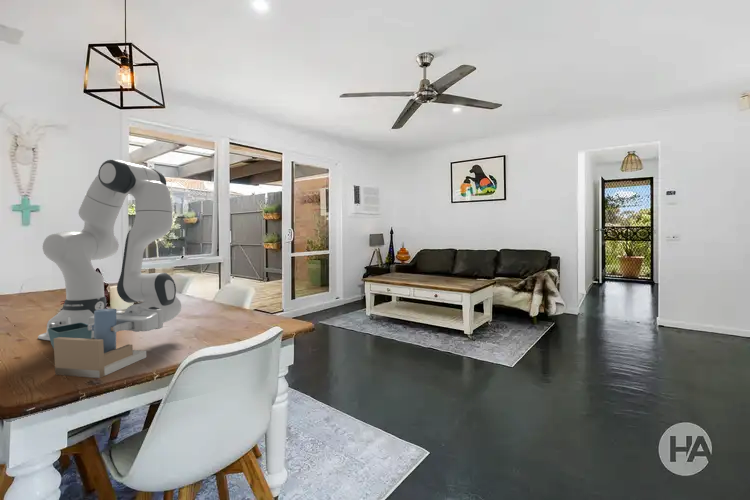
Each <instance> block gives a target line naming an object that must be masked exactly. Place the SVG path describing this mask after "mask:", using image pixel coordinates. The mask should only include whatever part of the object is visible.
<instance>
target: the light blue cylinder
mask: <svg viewBox="0 0 750 500" xmlns="http://www.w3.org/2000/svg"><path fill="white" fill-rule="evenodd" d="M116 313H117V309H116V308H105V309H100V310H95V311H94V338H93V339H102V340H103V347H104V353H107V352H109V351H112V350H115V349H117V332H111V328H110V327H111V326H113V325H116Z"/></svg>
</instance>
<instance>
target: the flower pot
mask: <svg viewBox="0 0 750 500" xmlns="http://www.w3.org/2000/svg"><path fill="white" fill-rule="evenodd" d="M48 332H49V337H50V340H49V341H50V344H51V347H52V349H54V338H58V337H67V338H85V339H92V338H91V335H92V331H88V325H87V324H85V323H75V324H69V325H64V326H59V327H53V328H48Z"/></svg>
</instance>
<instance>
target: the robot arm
mask: <svg viewBox="0 0 750 500" xmlns="http://www.w3.org/2000/svg"><path fill="white" fill-rule="evenodd" d="M129 195H130V196H132V197H133V198H134V201H135V216H134V222H133V224H132V227H131V229H130V230H129V231H128V233H127V235H126V237H125V243H124V251H123V257H122V262H121V263H122V264H121V265H122V266H121V271H120V276H119V279H118V282H117V285H116V291H117V294H118V296H119V298H120V299H121V300H122V301H124V302H126V303H128V304H131V303H132V304H131V305H129V306H128V307H127V308H126V309H125V311H124V312H116V325H113V326H111V327H110V328H111V332H116V333H118V332H121V331H127V332H128V331H131V332H135V333H137V332H149V331H153V330H160V329H163V327H164V324H165V323H167V322H169V321H171V320H173V319H175V318H176V317H177V316H179V315H180V312H181V310H182V302H181V300H180V299H179V297H177V295H176V292H177V288H176V283H175V280H174V279H173V277H172V276H171V275H170V274H168V273H166V272H150V273H142V267H143V258H144V253H145V250H146V248H147V247H148V246H149V245H151V243H153V242H154V241H157V240H159V239H161V238H163V237H164V236H166V235H167V234H168V233H169V232H170V231H171V229H172V226H173V205H172V198H171V192H170V189H169V187H168V186H167V179H166V177H165V176H164V174H163V173H161V172H160V171H158V170H156V169H154V168H150V167H147V166H145V165H142V164H139V163H132V162H127V161H124V160H120V159H107V160H106V161H104V162H103V163H102V164H101V165H100V167H99V168H98V174H97V175H96V176H95V178H94V179H93V181H92V182H91V184H90V186H89V187H88V189H87V191H86V193H85V196H84V198H83V200H82V202H81V204H80V207H79V209H78V217H80V219H81V220H82V221H83V222H84V224H83V229H82V230H80V231H79V230H78V231H77V230H76V231H65V230H64V231H61V232H56V233H52V234H49V235H48V236H46V238H44V240H43V243H42V251H43V254H44V255H45V257H46V258H47V259H49V260H50V261H52V262H53V263H54V264H56V266H58V268H59V269H60V271H61V273H62V275H63V280H64V284H65V296H66V298H65V299H64V300H61V301H60V305H63V306H62V307H61V308H62V310H60V311H59V312H58V313H56V315H54V316H53V317H51V318H50V319H49V320H48V321H47V324H46V331H45V332H44V333H40V334H38V336H37V339H39V340H44V341H50V337H49V332H48V328H53V327H59V326H64V325H69V324H75V323H85V324H87V325H88V331H92V335H91V339H94V311H95V310H100V309H106V306H107V297H106V296H105V283H104V280H105V279H104V275H103V274H102V273H100V272H98V271H96V269H95V267H93V265H92V261H97V260H104V259H106V258H109V257H112V256H114V255H116V253H117V252H118V250H119V247H120V246H119V241H118V239H117V237H116V236H115V233H114V232H115V231H114V228H115V224H116V221H117V218H118V217H119V216H118V215H119V213H120V211H121V208H122V207H123V205H124V202H125V199H126V198H127V196H129ZM133 303H135V304H133Z"/></svg>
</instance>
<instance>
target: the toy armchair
mask: <svg viewBox="0 0 750 500" xmlns="http://www.w3.org/2000/svg"><path fill="white" fill-rule="evenodd" d="M53 355H54V374H55V375H56V376H68V377H81V378H82V377H83V378H96V379H100V378H103V377H105V376H107V375H109V374H112V373H114V372H116V371H119V370H121V369H123V368H125V367H128V366H129V365H132V364H134V363H137V362H139V361H141V360H143V359H145V358H146V359H147V350H141V349H140V350H136V349H133V344H125V345H123V346H121V347H116V349H115V350H112V351H109V352H107V353H104V347H103V340H102V339H94V338H91V339H85V338H67V337H58V338H54V348H53Z"/></svg>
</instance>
